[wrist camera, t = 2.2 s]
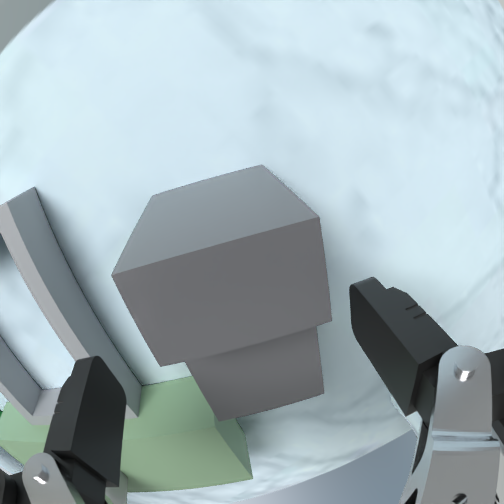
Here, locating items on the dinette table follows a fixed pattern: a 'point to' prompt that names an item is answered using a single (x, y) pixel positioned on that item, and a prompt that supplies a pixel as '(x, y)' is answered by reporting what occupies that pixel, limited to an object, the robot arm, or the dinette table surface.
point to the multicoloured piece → (138, 397)
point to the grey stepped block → (231, 289)
